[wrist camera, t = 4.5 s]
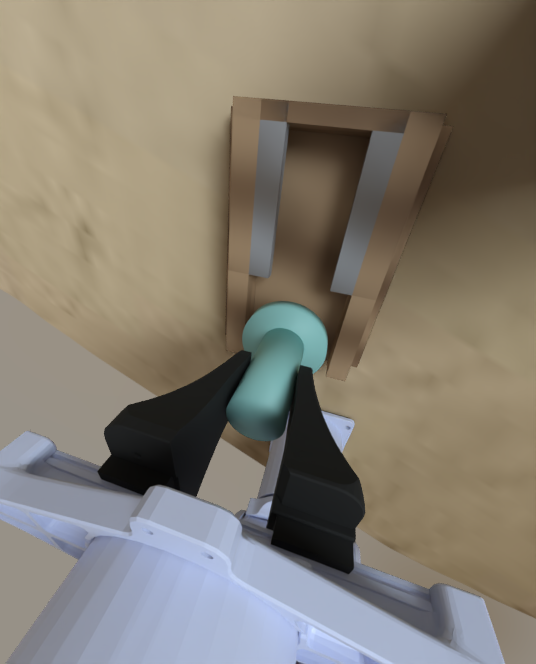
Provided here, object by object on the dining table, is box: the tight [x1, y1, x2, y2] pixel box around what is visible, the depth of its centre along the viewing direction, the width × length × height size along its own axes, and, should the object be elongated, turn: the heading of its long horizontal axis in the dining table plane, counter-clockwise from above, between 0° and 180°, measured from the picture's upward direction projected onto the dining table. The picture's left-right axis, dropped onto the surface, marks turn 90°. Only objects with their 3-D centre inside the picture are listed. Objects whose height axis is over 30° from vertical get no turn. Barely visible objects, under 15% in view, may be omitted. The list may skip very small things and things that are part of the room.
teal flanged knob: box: [226, 301, 328, 441], centre depth 14 cm, size 6×6×7 cm
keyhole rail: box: [226, 96, 453, 381], centre depth 17 cm, size 16×12×3 cm
